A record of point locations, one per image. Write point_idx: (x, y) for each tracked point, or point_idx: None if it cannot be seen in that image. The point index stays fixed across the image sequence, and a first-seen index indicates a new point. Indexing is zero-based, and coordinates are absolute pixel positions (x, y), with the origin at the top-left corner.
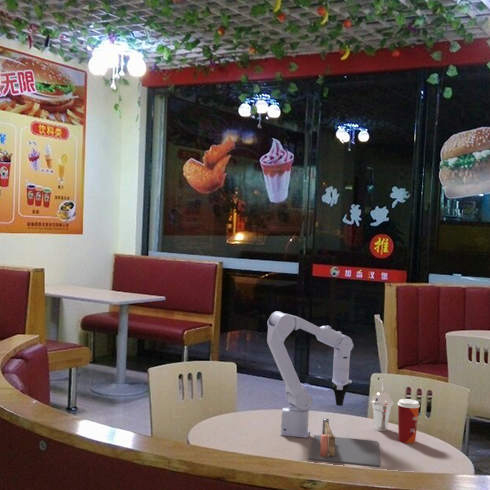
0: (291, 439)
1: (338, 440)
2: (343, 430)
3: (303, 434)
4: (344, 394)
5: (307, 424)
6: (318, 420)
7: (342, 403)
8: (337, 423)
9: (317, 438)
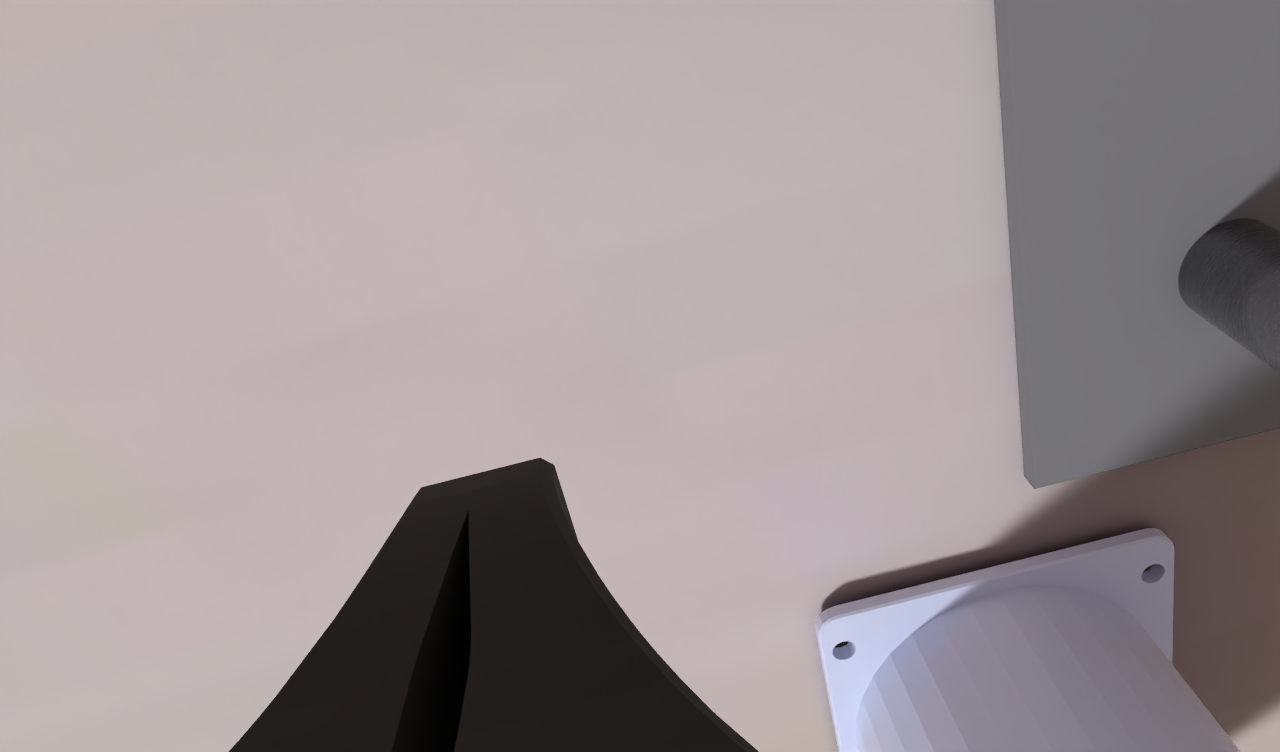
0: (1269, 662)
1: (1213, 32)
2: (407, 150)
3: (1121, 611)
4: (712, 725)
5: (1115, 696)
6: (114, 697)
7: (558, 498)
8: (21, 391)
9: (1205, 390)
